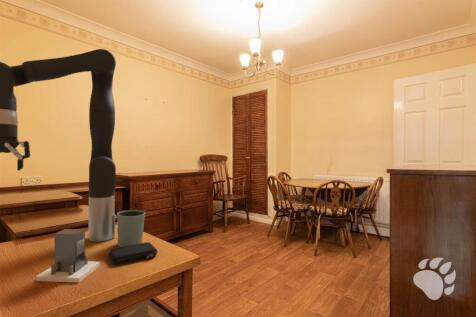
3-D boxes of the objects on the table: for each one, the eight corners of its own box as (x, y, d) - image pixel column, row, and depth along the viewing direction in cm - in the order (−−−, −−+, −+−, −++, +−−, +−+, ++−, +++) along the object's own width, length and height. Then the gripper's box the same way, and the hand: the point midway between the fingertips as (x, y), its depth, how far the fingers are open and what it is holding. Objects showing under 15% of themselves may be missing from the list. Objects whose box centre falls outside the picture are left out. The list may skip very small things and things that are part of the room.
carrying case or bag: (112, 269, 76) (160, 258, 85) (112, 260, 76) (160, 249, 85) (106, 257, 85) (150, 248, 93) (107, 248, 85) (150, 240, 93)
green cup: (117, 240, 99) (117, 210, 99) (144, 237, 103) (144, 209, 103) (115, 250, 90) (116, 217, 89) (145, 246, 94) (146, 215, 93)
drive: (65, 265, 75) (65, 228, 74) (85, 265, 75) (85, 229, 74) (54, 271, 71) (54, 233, 70) (75, 272, 70) (76, 234, 70)
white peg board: (62, 264, 78) (62, 252, 78) (100, 265, 78) (100, 253, 78) (35, 280, 68) (35, 267, 68) (79, 282, 68) (79, 269, 68)
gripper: (-31, 120, 78) (-31, 171, 78) (28, 124, 86) (28, 170, 86) (-24, 122, 84) (-23, 170, 85) (31, 125, 92) (31, 169, 93)
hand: (2, 170), depth 85 cm, fingers open, 8 cm apart
